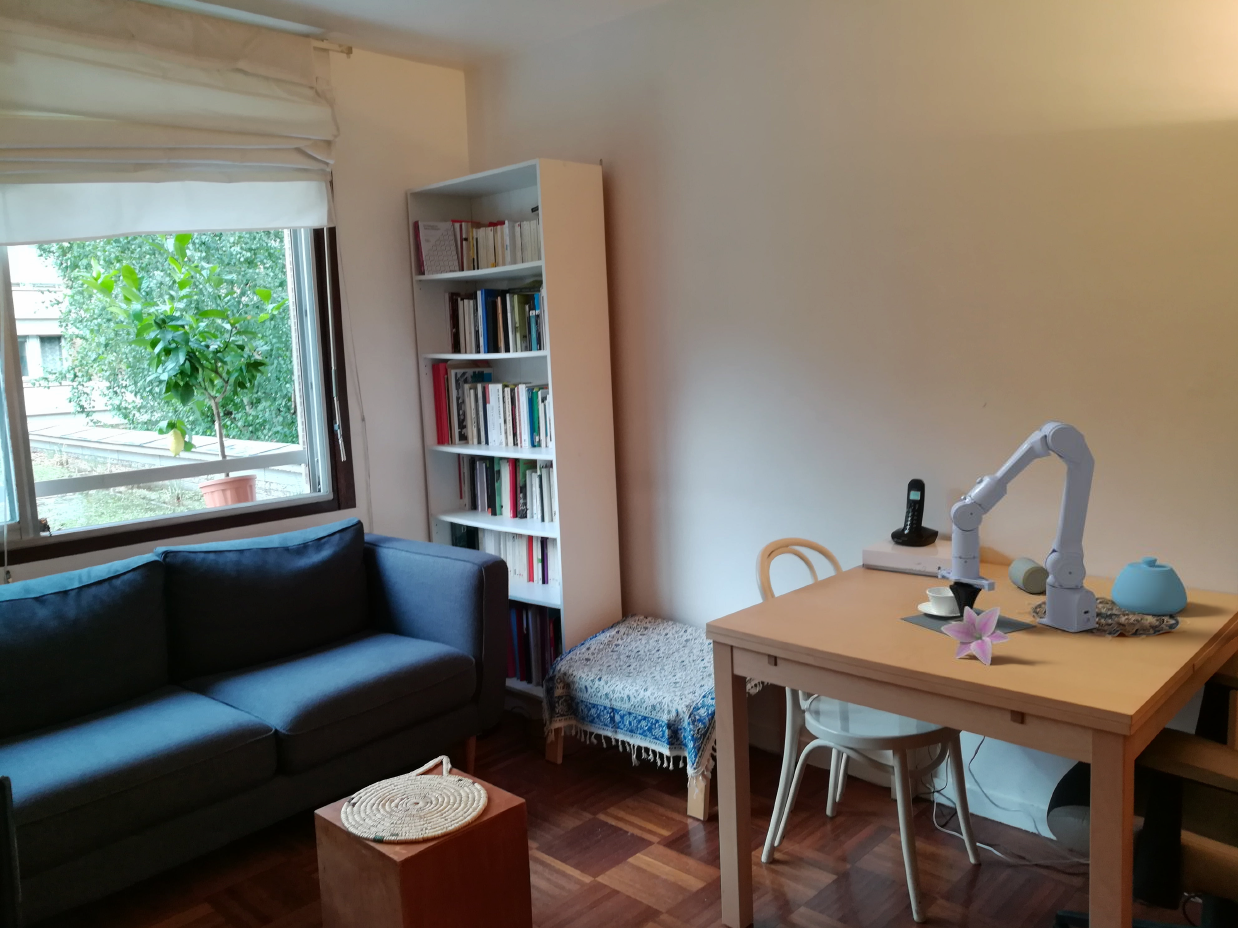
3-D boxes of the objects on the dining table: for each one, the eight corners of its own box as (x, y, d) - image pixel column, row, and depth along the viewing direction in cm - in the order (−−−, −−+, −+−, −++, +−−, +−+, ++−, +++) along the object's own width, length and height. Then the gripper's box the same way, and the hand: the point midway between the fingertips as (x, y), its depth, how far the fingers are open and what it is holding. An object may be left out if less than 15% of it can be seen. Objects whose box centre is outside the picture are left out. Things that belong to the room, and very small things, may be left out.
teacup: (975, 622, 203) (975, 599, 202) (918, 620, 206) (918, 597, 206) (970, 607, 214) (970, 585, 214) (916, 605, 218) (916, 584, 217)
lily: (936, 653, 188) (931, 619, 182) (980, 624, 190) (976, 590, 185) (980, 687, 178) (975, 653, 173) (1025, 656, 180) (1023, 622, 175)
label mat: (1036, 626, 199) (1036, 625, 199) (967, 641, 190) (967, 640, 190) (966, 605, 217) (966, 604, 217) (900, 618, 208) (900, 617, 208)
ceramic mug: (1022, 595, 224) (1023, 564, 223) (1007, 587, 232) (1008, 557, 231) (1065, 594, 224) (1066, 563, 223) (1048, 585, 232) (1049, 555, 231)
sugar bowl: (1182, 620, 199) (1184, 567, 197) (1105, 611, 208) (1106, 561, 207) (1190, 604, 211) (1191, 554, 209) (1117, 596, 220) (1118, 548, 218)
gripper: (927, 552, 207) (928, 611, 209) (977, 564, 194) (977, 626, 196) (951, 548, 210) (951, 606, 212) (1001, 560, 197) (1001, 621, 198)
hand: (965, 615), depth 204 cm, fingers closed
